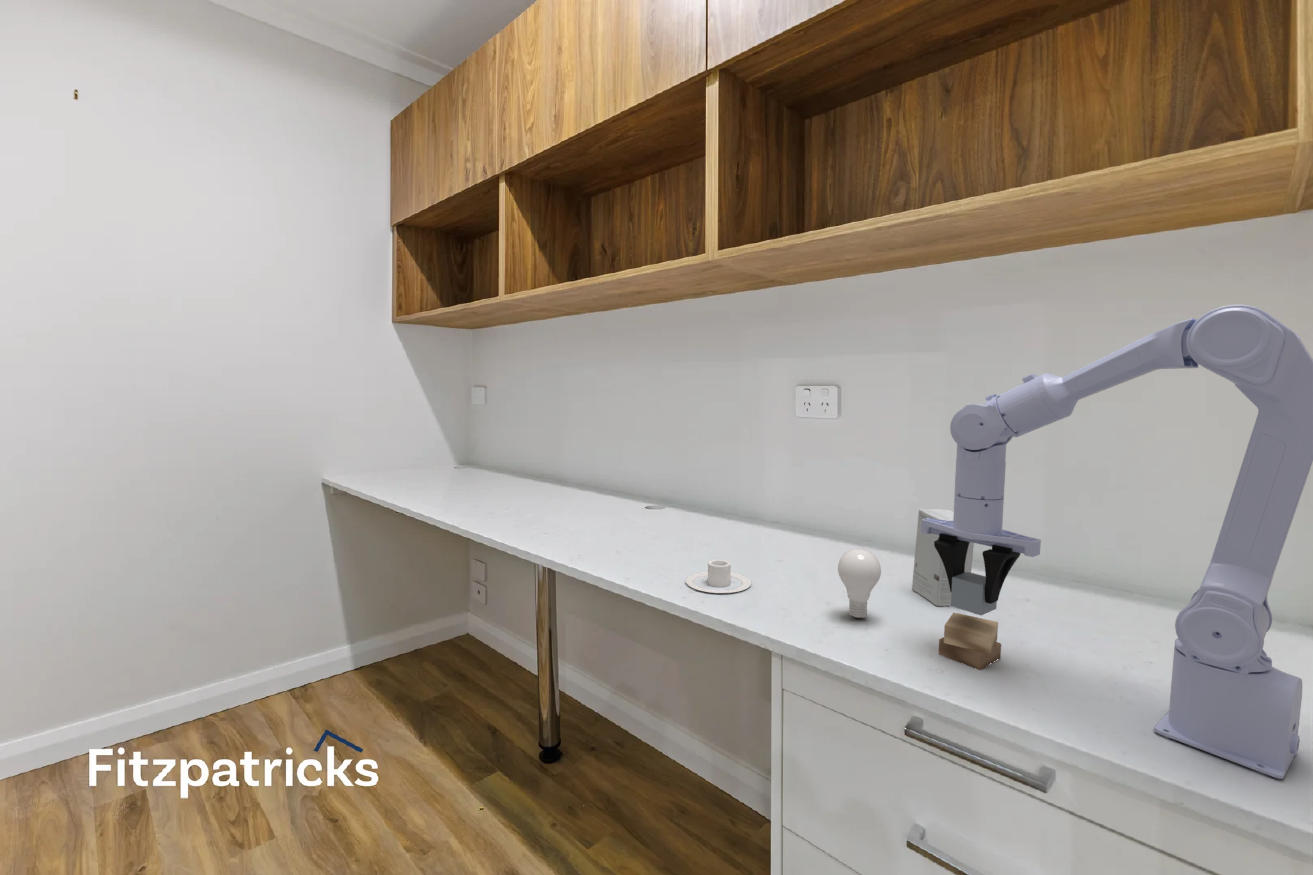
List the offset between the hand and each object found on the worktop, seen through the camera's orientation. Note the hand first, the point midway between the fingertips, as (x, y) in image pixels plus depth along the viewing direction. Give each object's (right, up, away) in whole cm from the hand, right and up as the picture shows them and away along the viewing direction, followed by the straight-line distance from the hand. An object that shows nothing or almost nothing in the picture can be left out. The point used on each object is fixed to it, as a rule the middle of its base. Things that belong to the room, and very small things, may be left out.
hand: (973, 596), depth 79 cm
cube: (0, -2, 0) cm, 2 cm away
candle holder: (-31, -6, +30) cm, 44 cm away
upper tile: (0, -6, +1) cm, 6 cm away
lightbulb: (-11, -7, +14) cm, 19 cm away
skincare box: (+6, -7, +23) cm, 24 cm away
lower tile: (0, -9, +1) cm, 9 cm away
